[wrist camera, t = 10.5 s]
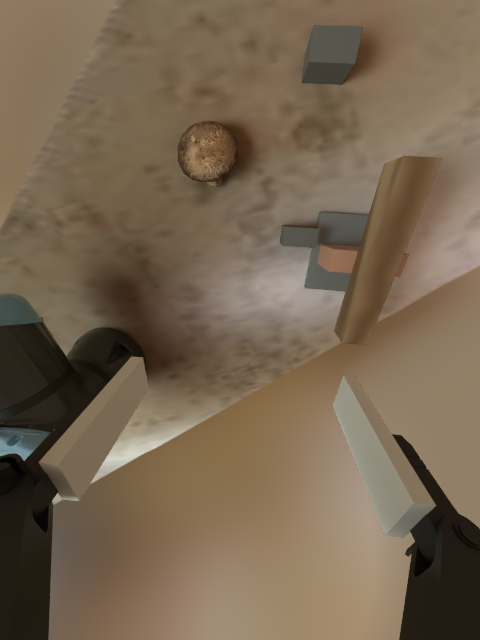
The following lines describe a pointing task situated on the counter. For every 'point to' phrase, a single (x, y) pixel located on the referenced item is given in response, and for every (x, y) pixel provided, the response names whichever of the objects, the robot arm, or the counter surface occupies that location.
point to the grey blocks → (324, 68)
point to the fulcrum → (337, 251)
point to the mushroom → (207, 152)
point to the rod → (384, 243)
